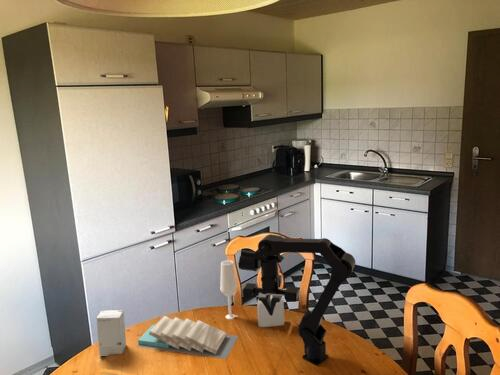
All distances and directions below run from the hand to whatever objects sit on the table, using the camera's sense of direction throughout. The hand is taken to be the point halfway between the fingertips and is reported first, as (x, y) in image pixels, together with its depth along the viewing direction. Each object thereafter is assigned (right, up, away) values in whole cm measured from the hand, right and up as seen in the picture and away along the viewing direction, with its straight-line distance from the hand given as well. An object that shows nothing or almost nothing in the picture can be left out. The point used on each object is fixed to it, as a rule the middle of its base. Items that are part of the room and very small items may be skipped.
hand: (271, 315), depth 142 cm
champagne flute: (-15, -9, +25) cm, 30 cm away
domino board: (-30, -13, +8) cm, 33 cm away
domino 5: (-17, -11, +4) cm, 21 cm away
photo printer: (+1, -10, +18) cm, 20 cm away
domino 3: (-26, -11, +7) cm, 30 cm away
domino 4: (-22, -11, +6) cm, 25 cm away
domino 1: (-35, -11, +9) cm, 38 cm away
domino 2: (-31, -11, +8) cm, 34 cm away
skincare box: (-56, -15, +6) cm, 58 cm away
